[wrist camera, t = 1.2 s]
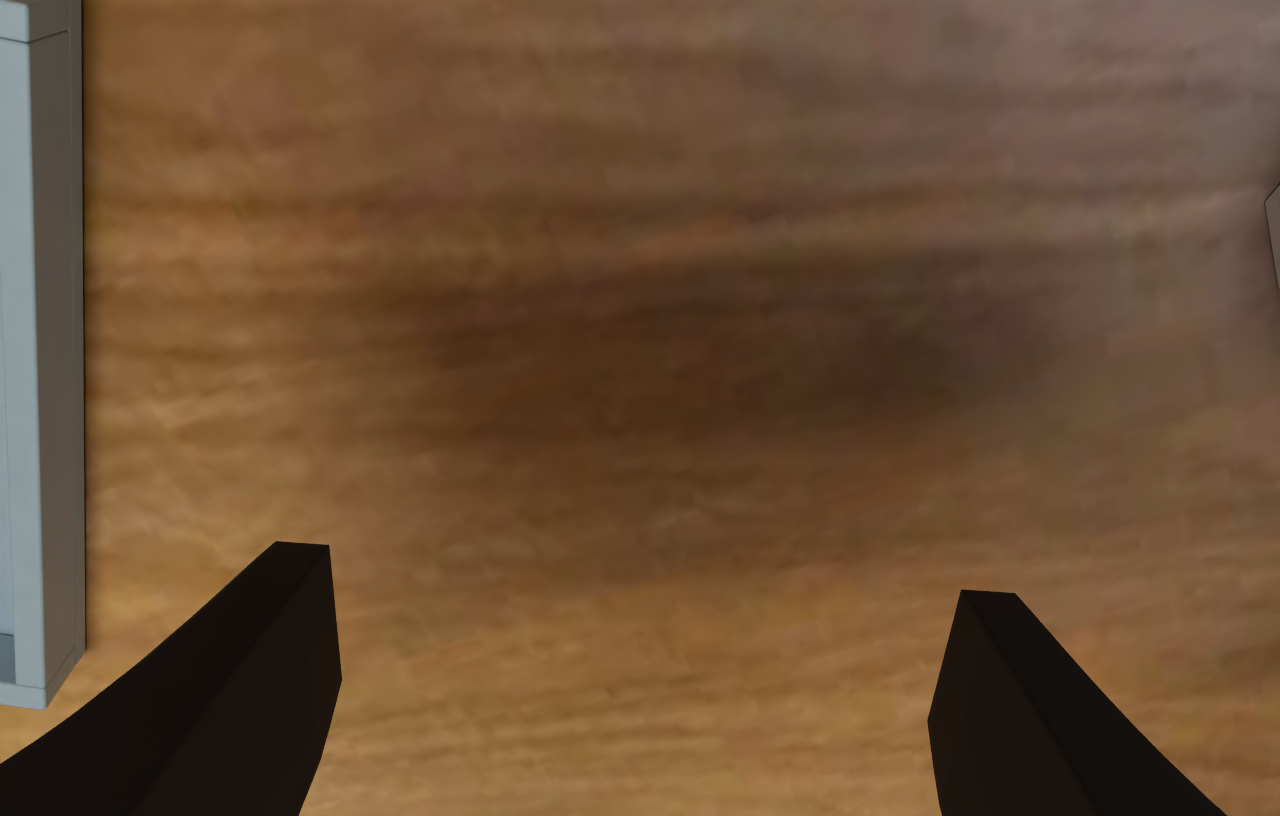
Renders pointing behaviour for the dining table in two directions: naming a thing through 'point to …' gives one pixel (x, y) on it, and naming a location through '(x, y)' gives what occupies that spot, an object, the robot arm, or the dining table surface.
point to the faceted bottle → (1274, 227)
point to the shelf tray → (41, 350)
